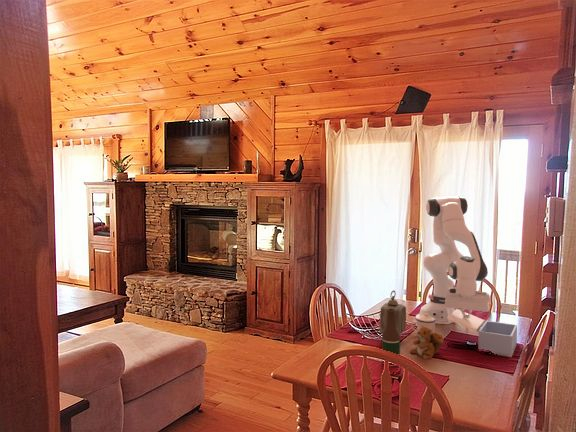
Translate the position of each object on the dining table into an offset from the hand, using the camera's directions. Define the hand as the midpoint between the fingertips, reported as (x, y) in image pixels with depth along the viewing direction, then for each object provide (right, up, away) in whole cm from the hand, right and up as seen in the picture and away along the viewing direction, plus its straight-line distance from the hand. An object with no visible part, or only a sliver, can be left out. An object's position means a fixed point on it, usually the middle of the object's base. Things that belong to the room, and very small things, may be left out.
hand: (466, 318), depth 224 cm
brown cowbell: (-35, -12, +5) cm, 37 cm away
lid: (0, 0, 0) cm, 0 cm away
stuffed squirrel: (-24, -14, -15) cm, 31 cm away
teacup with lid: (-18, -12, +11) cm, 24 cm away
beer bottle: (-43, -14, -26) cm, 52 cm away
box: (+12, -13, -7) cm, 19 cm away
